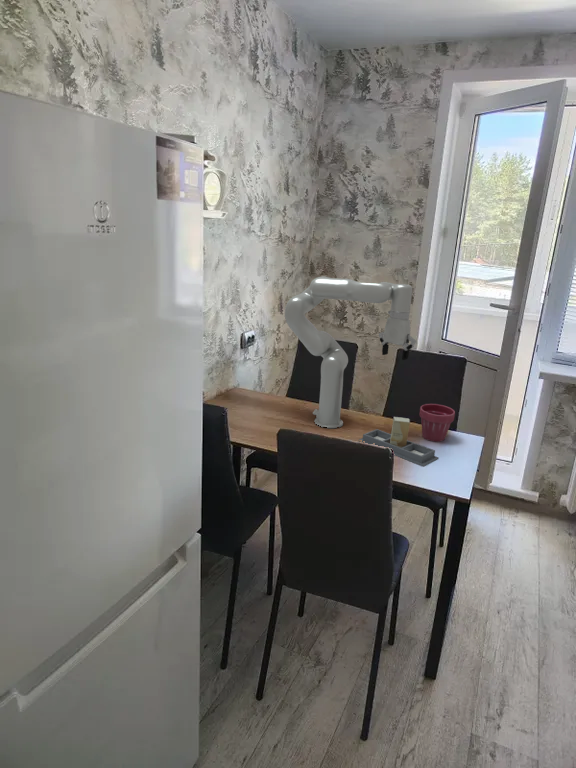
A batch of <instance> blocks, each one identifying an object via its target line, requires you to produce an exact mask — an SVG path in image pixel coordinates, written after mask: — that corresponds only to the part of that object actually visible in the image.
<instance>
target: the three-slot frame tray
mask: <svg viewBox="0 0 576 768" xmlns="http://www.w3.org/2000/svg"><path fill="white" fill-rule="evenodd" d="M390 439H391V433H389V432H385V431H383V430H380V429H378V428H376V429H373V430H370V431H368V432H366V433H363V434H362V438H359V439H358V441H359V440H362V442H363V441H365V443H368V444H373V443H375V445H378V446H384V447H389V448H392V449H393V451H394V454H395V455H394V456H395V457H398V458H400V459H403V460H406V461H408V462H411V463H412V464H416V465H418V466H420V467H425V466H428V465H429V464H431V463H433V462H435V461H437V460H439V457H438V456H436V455H435V454H436V450H435V449H432V448H429V447H427V446H425V445H421V444H419V443H416V442H414V441H411V440H408V439H407V443H406V446H404V447H402V448H400V447H397V446H395V445H392V444H390ZM362 442H361V443H362ZM365 443H364V444H365Z"/></svg>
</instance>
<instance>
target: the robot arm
mask: <svg viewBox="0 0 576 768" xmlns="http://www.w3.org/2000/svg"><path fill="white" fill-rule="evenodd" d="M412 295H413V286H412V285H410V284H407V283H406V284H405V283H393V282H389V281H381V282H378V283H375V282H374V283H373V282H360V281H356V280H354V279H351V278H340V277H339V278H337V277H335V278H334V277H329V276H325V275H322V276H318V277H317V276H316V277H315V278H314V279H312V280H311V282H310V284H309V286H308V287H307V288H306V289H305V290H303V291H302V292H301V293H299V294H296V295H294V296H292V297H291V298H290V299H289V300H288V301H287V303H286V305H285V308H284V319H285V320H284V321H285V323H286V324H287V326H288V327H289V329H290V330H291V331H292V332H293V334H294V335H295V336H296V337H297V338H298V340H299V341H300V342H301V343H302V344H303V346H304V347H305V348H306V350H307V351H308V353H310V354H311V355H313V356H315V357H322V358H323V359H322V361H321V365H320V389H319V390H320V391H319V402H318V403H319V404H318V409H317V408H314V411H312V415H313V416H316V418H315V419H314V422H315V423H314V424H315V425H316V424H317V425H316V426H318V425H319V426H318V427H320V426H321V428H323V427H327V428H326V429H338V428H337V427H339V428H341V427H342V426H344V422H343V421H344V420H342V419H341V412H342V401H343V400H342V399H343V398H342V397H343V387H344V371H345V369H346V368H347V365H348V363H349V357H348V354H347V353H346V351H345V350H344V349H343V347H342V346H341V345H340V344H339V342H337V341H336V339H335V338H334V337H333V336H332V335H331V334H330V333H329V332H327V331H324V330H318V329H317V327H316V326H315V325H314V323H312V322H311V321H310V320H309V319H308V318H307V316H306V314H307V313H309V312H311V311H312V310H313V309H315V307H316V306H318V305H319V304H320V303H322V302H323V301H324V300H325V299H328V300H341V301H342V300H343V301H349V302H350V301H351V302H361V303H373V304H383V303H386V302H387V301H391V303H390V305H391V306H390V310H388V311H387V314H388V315H389V316H388V317H387V320H386V322H385V326H384V331H381V332H379V333H378V337H379V342H380V343H381V346H382V349H381V353H382V354H381V355H382V356H386V355H388V354H389V349H390V348H389V344H394V345H397V346H402V347H403V350H402V355H401V360H402V361H405V360H408V359H409V357H410V355H409V354H410V350H411V349H412V348H414V346H415V345H416V344H417V340H416V339H415V338H414V337H412V336H411V320H410V312H411V303H412V297H413V296H412Z"/></svg>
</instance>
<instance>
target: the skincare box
mask: <svg viewBox="0 0 576 768" xmlns="http://www.w3.org/2000/svg"><path fill="white" fill-rule="evenodd" d="M392 419H393V420H392V427H391V433H390V434H391V439H390V444H392V445H395V446H397V447H400V448H402V447H404V446H406V443H407V440H408V436H409V429H410V424H411V423H410V422H411V419H410V418H406V417H398V416H393V418H392Z"/></svg>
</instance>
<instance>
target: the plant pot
mask: <svg viewBox="0 0 576 768" xmlns="http://www.w3.org/2000/svg"><path fill="white" fill-rule="evenodd" d="M455 416H456V411H455V409H453V408H451V407H450V406H446V405H443V404H438V403H425V404H422V405H421V406H420V408H419V417H420V418H421V419H420V420H421V421H420V422H421V423H420V424H421V433H422V438H424V440H427V441H431V442H435V443H436V442H437V443H438V442H444V441H445V439H446V437H447V434H448V432H449V430H450V428H451V424H452V423H453V422H454V420H455Z"/></svg>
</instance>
